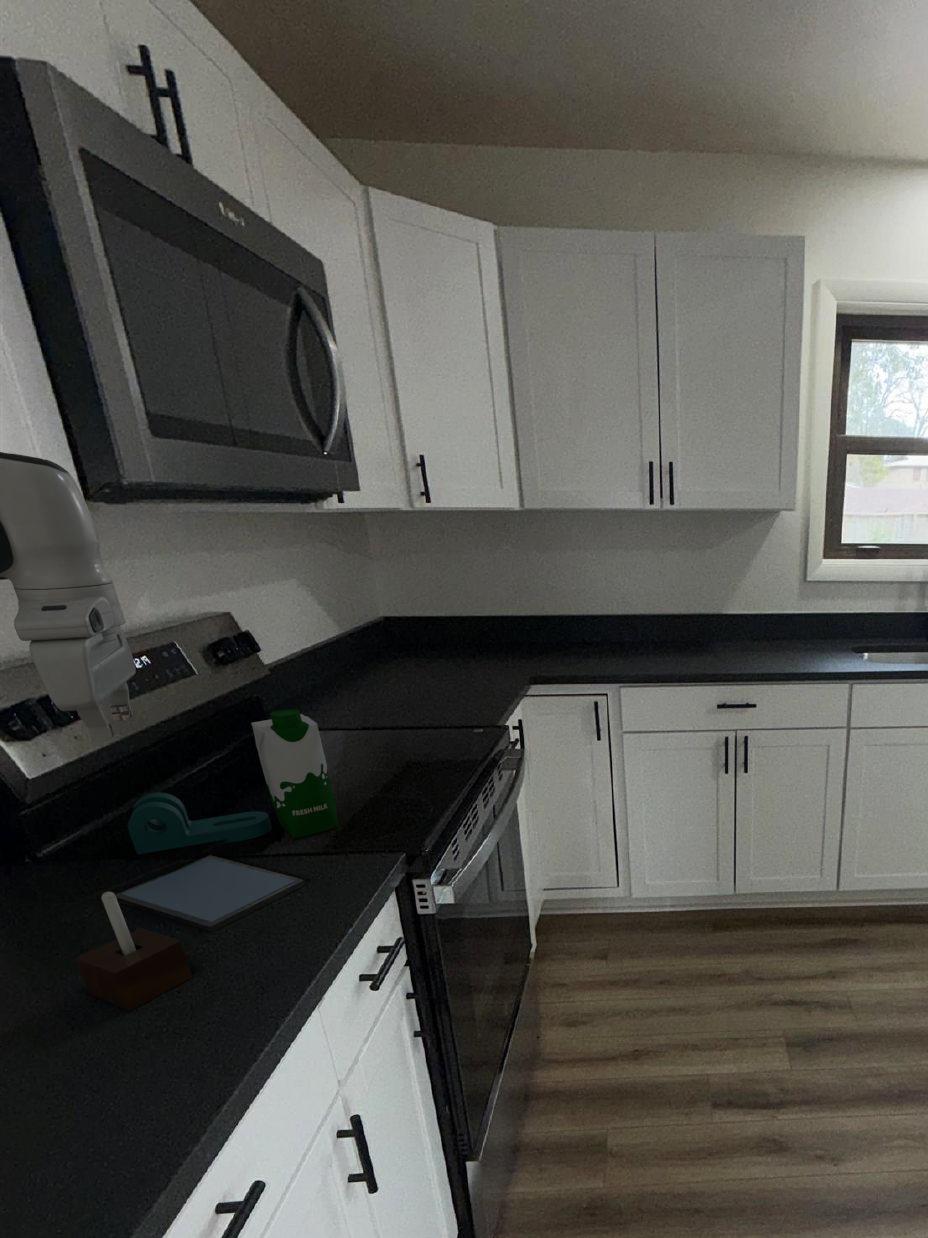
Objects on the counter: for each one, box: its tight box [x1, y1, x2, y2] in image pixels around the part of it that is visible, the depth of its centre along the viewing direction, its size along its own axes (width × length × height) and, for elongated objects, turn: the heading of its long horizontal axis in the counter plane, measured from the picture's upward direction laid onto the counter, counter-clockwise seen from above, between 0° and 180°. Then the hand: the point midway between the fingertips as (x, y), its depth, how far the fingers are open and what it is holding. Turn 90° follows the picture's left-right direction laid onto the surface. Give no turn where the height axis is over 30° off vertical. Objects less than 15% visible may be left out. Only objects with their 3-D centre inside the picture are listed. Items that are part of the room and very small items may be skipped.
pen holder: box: [75, 927, 193, 1012], centre depth 87 cm, size 7×7×5 cm
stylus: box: [101, 891, 136, 956], centre depth 85 cm, size 1×1×12 cm
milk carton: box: [251, 708, 340, 840], centre depth 125 cm, size 9×9×20 cm
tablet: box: [115, 854, 306, 933], centre depth 108 cm, size 20×14×1 cm
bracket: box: [127, 791, 273, 856], centre depth 123 cm, size 18×7×8 cm, turn 119°
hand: (114, 729), depth 94 cm, fingers open, 8 cm apart
